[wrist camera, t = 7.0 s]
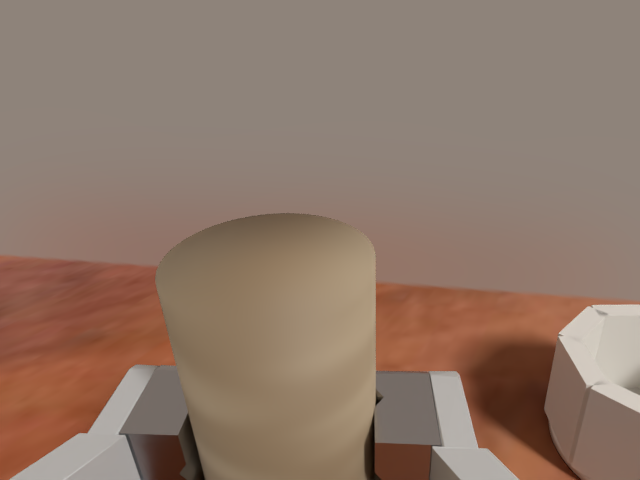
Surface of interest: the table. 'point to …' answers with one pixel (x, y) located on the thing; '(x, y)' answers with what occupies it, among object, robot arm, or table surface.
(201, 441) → the beige peg with base
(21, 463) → the table surface
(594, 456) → the white octagonal collar
